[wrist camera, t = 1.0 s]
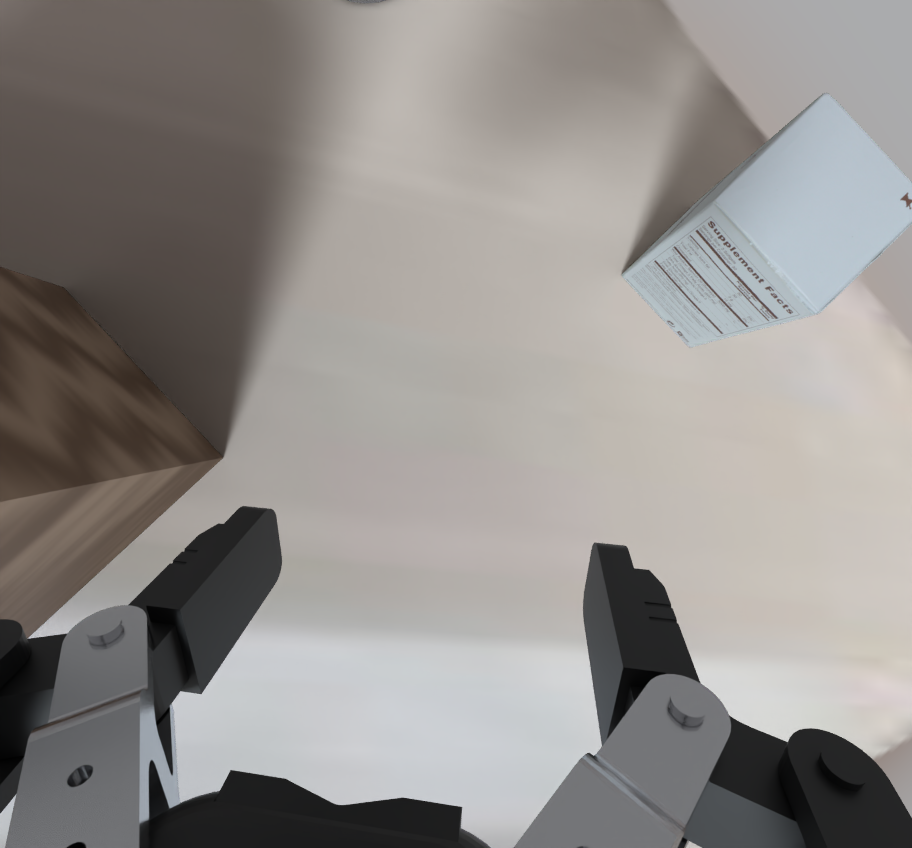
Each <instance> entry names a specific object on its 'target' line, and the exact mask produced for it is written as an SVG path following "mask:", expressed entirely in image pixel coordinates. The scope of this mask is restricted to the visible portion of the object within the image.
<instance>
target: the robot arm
mask: <svg viewBox="0 0 912 848" xmlns="http://www.w3.org/2000/svg"><path fill="white" fill-rule="evenodd" d="M348 1H352V2H359V3H375V2H381V1H384V0H348ZM281 565H282V556H281V548H280V541H279V533H278V526H277V519H276V514H275V512H274V510H272V509H267V508H257V507H247V506H242V507H240V508H239V509H238V510H237V511H236V512H235V513H234V514H233V515H232V516H231V517H230V518H229V519H228V520H227V521H226V522H225V523H224V524H217V525H215V526H214V527H212V528H210V529H208V530H207V531H205V532H203V533H201V534H200V535H198V536H197V537H196V538H195V539H194V540H193V541H192V542H191V543H190V544H189V545H188V546H187V547H186V548H185V551H184V552H181V553H180V554H179V555H178V556H177V557H176V558H175V559H174V560H173V563H172V564H169V565H168V566H167V567H166V568H165V569H164V570H163V571H162V572H161V573H160V574H159V575H158V576H157V577H156V578H155V579H154V580H153V581H152V582H151V583H150V584H149V585H148V586H147V587H146V588H145V589H144V590H143V591H142V592H141V593H140V594H139V595H138V596H137V597H136V598H135V599H134V600H133V601H132V602H131V603H130V604H129V605H122V606H115V607H111V608H107V609H104V610H101V611H99V612H96V613H94V614H92V615H90V616H88V617H87V618H85V619H84V620H82V621H81V622H79V623H78V624H77V625H75V626H74V627H73V628H72V629H71V630H70V631H69V633H68V634H61V635H54V636H46V637H39V638H31V639H27V637H26V635H25V633H24V630H23V628H22V626H21V624H20V623H18V622H17V621H14V620H9V619H0V813H1V812H2V811H3V810H4V808H5V807H6V806H7V805H8V803H9V802H10V801H11V800H12V799H13V797H14V796H15V795H16V799H15V804H14V808H13V813H12V818H11V822H10V827H9V832H8V837H7V841H6V846H5V848H490V847H489V846H488V845H487V844H486V843H485V842H483V841H482V840H480V839H479V838H477V837H476V836H474V835H473V834H471V833H469V832H467V831H465V830H463V829H461V815H462V807H458V806H452V805H445V804H439V803H433V802H427V801H421V800H414V799H408V798H397V799H389V800H381V801H373V802H365V803H358V804H350V805H336V804H333V803H331V802H329V801H327V800H325V799H323V798H321V797H320V796H318V795H316V794H314V793H312V792H310V791H308V790H306V789H304V788H302V787H300V786H298V785H296V784H294V783H292V782H291V781H289V780H287V779H283V778H277V777H271V776H264V775H258V774H252V773H246V772H239V771H233V770H231V771H230V773H229V775H228V776H227V778H226V780H225V782H224V784H223V786H222V788H221V790H220V791H218V792H212V793H208V794H204V795H201V796H197V797H195V798H192V799H189V800H187V801H184V802H182V803H181V802H180V796H179V787H178V771H177V755H176V738H175V722H174V710H173V706H172V702H173V701H174V699H175V698H176V696H177V695H178V694H179V692H180V691H183V692H190V693H197V694H202V692H203V691H204V689H205V688H206V686H207V685H208V683H209V682H210V680H211V679H212V677H213V676H214V674H215V673H216V671H217V670H218V668H219V667H220V666H221V664H222V663H223V661H224V660H225V658H226V657H227V655H228V654H229V652H230V651H231V649H232V648H233V646H234V645H235V643H236V642H237V640H238V639H239V637H240V636H241V634H242V633H243V631H244V630H245V628H246V627H247V625H248V624H249V622H250V621H251V619H252V618H253V616H254V615H255V613H256V612H257V610H258V609H259V607H260V606H261V604H262V603H263V601H264V600H265V598H266V597H267V595H268V594H269V592H270V591H271V589H272V588H273V586H274V585H275V583H276V582H277V580H278V577H279V574H280V571H281ZM583 617H584V625H585V632H586V639H587V646H588V653H589V659H590V666H591V673H592V680H593V687H594V694H595V701H596V708H597V715H598V721H599V728H600V735H601V742H602V747H601V749H600V750H599V751H598V753H597V754H596V755H594V756H593V755H592V754H590V753H587V754H585V755H584V756H583V757H582V758H581V759H580V760H579V761H578V763H577V764H576V765H575V766H574V768H573V769H572V770H571V772H570V773H569V774H568V776H567V777H566V778H565V780H564V781H563V782H562V784H561V785H560V786H559V788H558V789H557V790H556V792H555V793H554V794H553V796H552V797H551V798H550V800H549V801H548V802H547V804H546V805H545V806H544V808H543V809H542V811H541V812H540V813H539V815H538V816H537V817H536V819H535V820H534V821H533V823H532V824H531V825H530V827H529V828H528V829H527V831H526V832H525V833H524V835H523V836H522V837H521V839H520V840H519V841H518V843H517V844H516V845H515V847H514V848H686V846H687V844H688V842H689V841H691V842H692V843H694V844H696V845H698V846H700V847H702V848H912V818H911V816H910V814H909V813H908V811H907V809H906V808H905V806H904V804H903V802H902V801H901V799H900V797H899V796H898V794H897V792H896V791H895V789H894V787H893V785H892V784H891V782H890V780H889V779H888V777H887V776H886V774H885V773H884V772H883V770H882V769H881V768H880V767H879V766H878V765H877V763H876V762H875V761H874V760H873V759H872V758H871V757H869V756H868V755H867V754H866V753H865V752H863V751H862V750H861V749H859V748H858V747H857V746H855V745H854V744H852V743H851V742H849V741H847V740H846V739H844V738H842V737H840V736H838V735H835V734H833V733H830V732H827V731H823V730H819V729H811V728H810V729H802V730H798V731H797V732H795V733H794V734H793V735H792V736H791V737H790V739H789V741H788V742H786V741H783V740H781V739H778V738H776V737H773V736H771V735H768V734H766V733H764V732H761V731H759V730H756V729H754V728H751V727H749V726H747V725H745V724H742V723H740V722H739V721H737V720H735V719H734V718H732V717H731V716H729V715H728V712H727V710H726V708H725V707H724V705H723V704H722V702H721V701H720V700H719V699H718V697H717V696H716V695H715V694H714V693H713V692H711V691H710V690H709V689H708V688H706V687H705V686H704V685H702V684H701V683H700V681H699V678H698V676H697V673H696V670H695V668H694V665H693V662H692V660H691V657H690V654H689V651H688V649H687V646H686V643H685V641H684V638H683V635H682V633H681V630H680V627H679V625H678V624H677V619H676V617H675V614H674V611H673V609H672V608H671V603H670V601H669V598H668V595H667V592H666V590H665V587H664V586H663V585H662V584H661V582H660V581H659V580H658V579H657V578H656V577H655V576H654V575H653V574H652V573H651V571H650V570H643V569H634V567H633V564H632V560H631V557H630V554H629V551H628V548H627V547H626V546H623V545H613V544H603V543H594V544H593V546H592V550H591V556H590V562H589V568H588V573H587V579H586V585H585V591H584V600H583Z"/></svg>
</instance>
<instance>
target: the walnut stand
mask: <svg viewBox="0 0 912 848" xmlns="http://www.w3.org/2000/svg"><path fill="white" fill-rule="evenodd" d="M222 458H223V457H222V456H221V455H220V454H219V452H218V451H217V450H216V449H215V448H214V447H213V446H212V445H211V444H210V443H209V442H208V441H207V440H206V439H205V438H204V437H203V435H202V434H201V433H200V432H199V431H198V430H197V429H196V428H195V427H194V426H193V425H192V424H191V423H190V422H189V421H188V420H187V418H186V417H185V416H184V415H183V414H182V413H181V412H180V411H179V410H178V409H177V408H176V407H175V406H174V405H173V404H172V402H171V401H170V400H169V399H168V398H167V397H166V396H165V395H164V394H163V393H162V392H161V391H160V390H159V389H158V388H157V387H156V385H155V384H154V383H153V382H152V381H151V380H150V379H149V378H148V377H147V376H146V375H145V374H144V373H143V372H142V371H141V370H140V368H139V367H138V366H137V365H136V364H135V363H134V362H133V361H132V360H131V359H130V358H129V357H128V356H127V355H126V354H125V353H124V351H123V350H122V349H121V348H120V347H119V346H118V345H117V344H116V343H115V342H114V341H113V340H112V339H111V338H110V337H109V336H108V334H107V333H106V332H105V331H104V330H103V329H102V328H101V327H100V326H99V325H98V324H97V323H96V322H95V321H94V320H93V319H92V317H91V316H90V315H89V314H88V313H87V312H86V311H85V310H84V309H83V308H82V307H81V306H80V305H79V304H78V303H77V301H76V300H75V299H74V298H73V297H72V296H71V295H70V294H69V293H68V292H67V291H66V290H65V289H64V288H63V287H60V286H57V285H54V284H51V283H48V282H45V281H42V280H39V279H36V278H33V277H30V276H27V275H23V274H20V273H17V272H14V271H11V270H8V269H5V268H2V267H0V619H9V620H14V621H17V622H18V623H20V624H21V626H22V628H23V630H24V633H25V635H26V637H27V638H28V637H29V636H31V635H32V634H33V633H34V632H35V631H36V630H37V629H38V628H39V627H40V626H41V625H42V624H44V623H45V622H46V621H47V620H48V619H49V618H50V617H51V616H52V615H53V614H54V613H55V612H57V611H58V610H59V609H60V608H61V607H62V606H63V605H64V604H65V603H66V602H67V601H68V600H70V599H71V598H72V597H73V596H74V595H75V594H76V593H77V592H78V591H79V590H80V589H81V588H83V587H84V586H85V585H86V584H87V583H88V582H89V581H90V580H91V579H92V578H93V577H94V576H96V575H97V574H98V573H99V572H100V571H101V570H102V569H103V568H104V567H105V566H106V565H107V564H109V563H110V562H111V561H112V560H113V559H114V558H115V557H116V556H117V555H118V554H119V553H120V552H122V551H123V550H124V549H125V548H126V547H127V546H128V545H129V544H130V543H131V542H132V541H133V540H135V539H136V538H137V537H138V536H139V535H140V534H141V533H142V532H143V531H144V530H145V529H146V528H148V527H149V526H150V525H151V524H152V523H153V522H154V521H155V520H156V519H157V518H158V517H159V516H161V515H162V514H163V513H164V512H165V511H166V510H167V509H168V508H169V507H170V506H171V505H173V504H174V503H175V502H176V501H177V500H178V499H179V498H180V497H181V496H182V495H183V494H184V493H186V492H187V491H188V490H189V489H190V488H191V487H192V486H193V485H194V484H195V483H196V482H197V481H199V480H200V479H201V478H202V477H203V476H204V475H205V474H206V473H207V472H208V471H209V470H210V469H212V468H213V467H214V466H215V465H216V464H217V463H218V462H219V461H220V460H221V459H222Z"/></svg>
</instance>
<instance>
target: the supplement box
mask: <svg viewBox="0 0 912 848" xmlns="http://www.w3.org/2000/svg"><path fill="white" fill-rule="evenodd" d="M911 224H912V182H911V181H910V180H909V179H908V177H907V176H906V175H905V174H904V173H903V172H902V171H901V170H900V169H899V168H898V167H897V166H896V164H895V163H894V162H893V161H892V160H891V159H890V158H889V157H888V156H887V155H886V154H885V153H884V152H883V150H882V149H881V148H880V147H879V146H878V145H877V144H876V143H875V142H874V141H873V140H872V139H871V138H870V137H869V135H868V134H867V133H866V132H865V131H864V130H863V129H862V128H861V127H860V126H859V125H858V124H857V122H855V120H854V119H853V118H852V117H851V116H850V115H849V114H848V113H847V112H846V111H845V110H844V108H843V107H842V106H841V105H840V104H839V103H838V102H837V101H836V100H835V99H834V98H833V97H832V96H830V95H829V94H828V93H824V94H822V95H821V96H820V97H819V98H817V99H816V100H815V101H814V102H813V103H812V104H810V105H809V106H808V107H807V108H806V109H805V110H803V111H802V112H801V113H800V114H799V115H798V116H796V117H795V118H794V119H793V120H792V121H790V122H789V123H788V124H787V125H786V126H785V127H783V128H782V129H781V130H780V131H779V132H778V133H777V134H775V135H774V136H773V137H772V138H771V139H770V140H768V141H767V142H766V143H765V144H764V145H763V146H761V147H760V148H759V149H758V150H757V151H756V152H754V153H753V154H752V155H751V156H750V157H749V158H747V159H746V160H745V161H744V162H743V163H742V164H740V165H739V166H738V167H737V168H736V169H734V170H733V171H732V172H731V173H730V174H729V175H727V176H726V177H725V178H724V179H723V180H721V181H720V182H719V183H718V184H717V185H716V186H714V187H713V188H712V189H711V190H710V191H708V192H707V193H706V194H705V195H704V196H703V197H702V198H700V199H699V200H698V201H697V202H696V203H695V204H694V205H692V207H691V208H690V209H689V210H688V211H687V212H686V213H685V214H684V215H683V216H682V217H681V218H680V219H679V220H678V221H677V222H675V223H674V224H673V225H672V226H671V227H670V228H669V229H668V230H667V231H666V232H665V233H664V234H663V235H662V236H661V237H660V238H659V239H658V240H657V241H656V242H655V243H654V244H653V245H652V246H651V247H650V248H649V249H648V250H647V251H646V252H645V253H644V254H643V255H642V256H640V257H639V258H638V259H637V260H636V261H635V262H634V263H633V264H632V265H631V266H630V267H629V268H628V269H627V270H626V271H625V272H624V273H622V277H623V278H624V279H625V280H626V281H627V282H628V283H629V284H630V286H631V287H632V288H633V289H634V290H635V291H636V292H637V293H638V294H639V295H640V296H641V297H642V298H643V299H644V300H645V301H646V303H647V304H648V305H649V306H650V307H651V308H652V309H653V310H654V311H655V312H656V313H657V314H658V315H659V316H660V317H661V318H662V319H663V321H664V322H665V323H666V324H667V325H668V326H669V327H670V328H671V329H672V330H673V331H674V332H675V333H676V334H677V335H678V336H679V337H680V338H681V340H682V341H683V342H684V343H685V344H686V345H687V346H689V347H694V346H698V345H702V344H706V343H709V342H713V341H717V340H721V339H724V338H728V337H732V336H736V335H740V334H744V333H748V332H751V331H755V330H759V329H763V328H767V327H771V326H775V325H779V324H783V323H787V322H790V321H794V320H798V319H802V318H805V317H809V316H812V315H816V314H818V313H820V312H821V311H823V310H824V309H825V308H826V307H827V306H828V305H829V304H830V303H831V302H832V301H833V300H834V299H835V298H836V297H837V296H838V295H839V294H840V293H841V292H842V291H843V290H844V289H845V288H846V287H847V286H848V285H849V284H850V283H851V282H852V281H853V280H855V279H856V278H857V277H858V276H859V275H860V274H861V273H862V272H863V271H864V270H865V269H866V268H867V267H868V266H869V265H870V264H871V263H872V262H874V261H875V260H876V259H877V258H878V257H879V256H880V255H881V254H882V253H883V252H884V251H885V249H886V248H888V246H890V245H891V244H892V243H893V242H894V241H895V240H896V239H897V238H898V237H899V236H900V235H901V234H902V233H903V232H904V231H905V230H906V229H907V228H908V227H909V226H910V225H911Z"/></svg>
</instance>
